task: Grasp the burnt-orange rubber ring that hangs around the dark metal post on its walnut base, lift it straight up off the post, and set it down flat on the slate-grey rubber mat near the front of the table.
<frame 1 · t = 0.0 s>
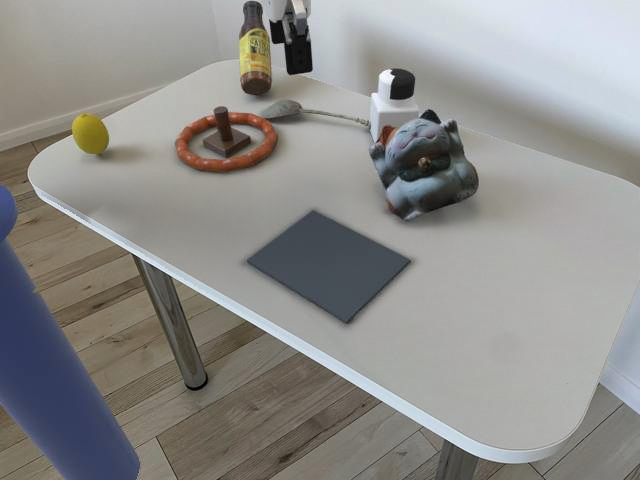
hand: (291, 56, 72), 23 cm above the table, tool pointing down, fingers open, 9 cm apart
post stand: (227, 145, 99), on the table
medicine bottle: (391, 138, 100), on the table, touching soupspoon
lemon: (99, 155, 98), on the table
sauce bottle: (257, 90, 109), point 2 cm above the table
mat: (328, 262, 77), on the table
lucky cat figurine: (420, 198, 87), on the table
ring: (226, 140, 99), point 1 cm above the table
soupspoon: (317, 121, 104), on the table, touching medicine bottle
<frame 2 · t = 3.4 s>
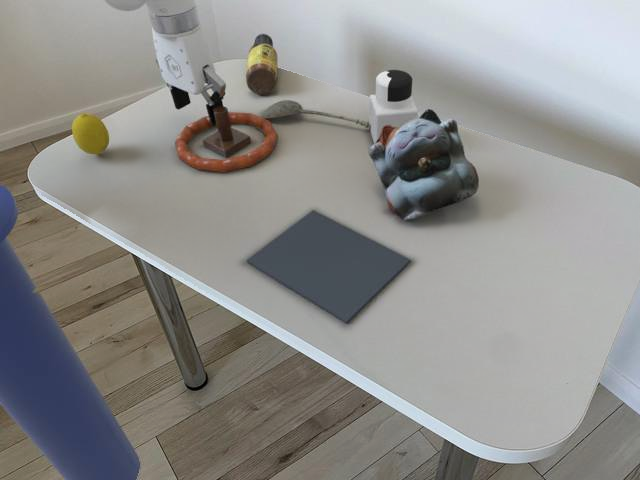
hand: (200, 113, 102), 3 cm above the table, tool pointing down, fingers open, 9 cm apart
sauce bottle: (261, 83, 110), point 3 cm above the table
everything else where it was.
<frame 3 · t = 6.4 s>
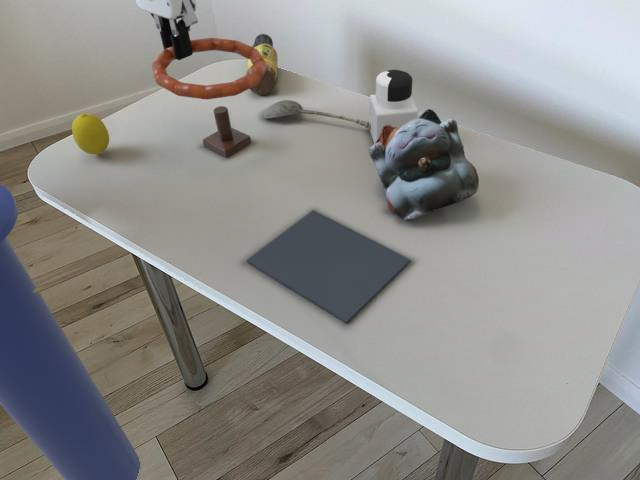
hand: (179, 54, 92), 15 cm above the table, tool pointing down, fingers closed on ring
ring: (210, 66, 89), point 15 cm above the table, touching gripper
everything else where it was.
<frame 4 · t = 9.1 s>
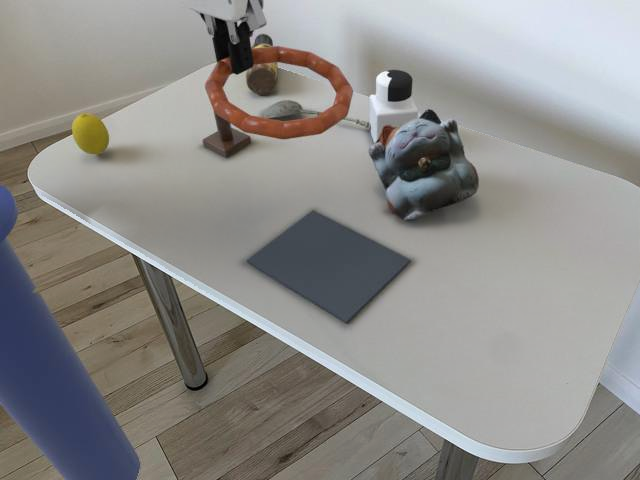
hand: (235, 66, 71), 22 cm above the table, tool pointing down, fingers closed on ring
ring: (280, 89, 68), point 21 cm above the table, tilted 10°, touching gripper
everything else where it was.
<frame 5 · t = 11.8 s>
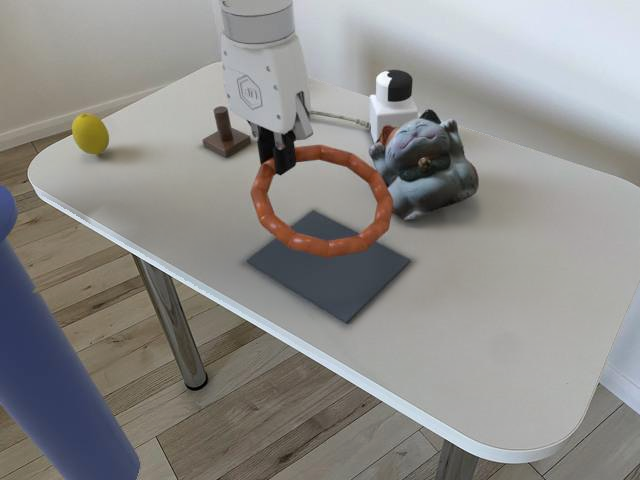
hand: (278, 165, 72), 13 cm above the table, tool pointing down, fingers closed on ring
ring: (323, 197, 69), point 11 cm above the table, tilted 16°, touching gripper
everything else where it was.
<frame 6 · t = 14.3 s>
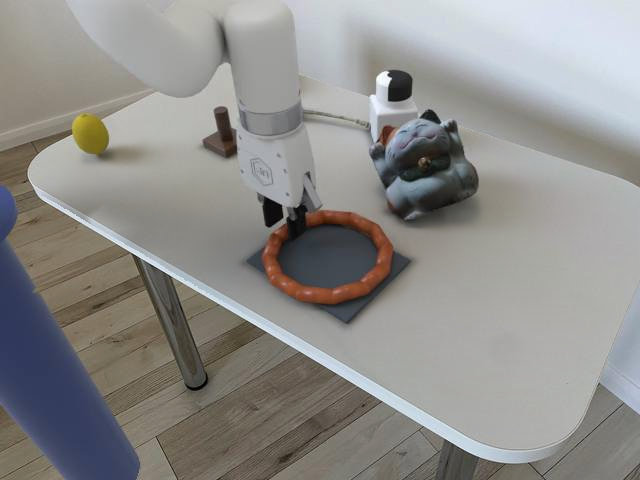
hand: (286, 227, 79), 2 cm above the table, tool pointing down, fingers open, 3 cm apart
ring: (327, 253, 76), point 1 cm above the table, touching mat
everything else where it was.
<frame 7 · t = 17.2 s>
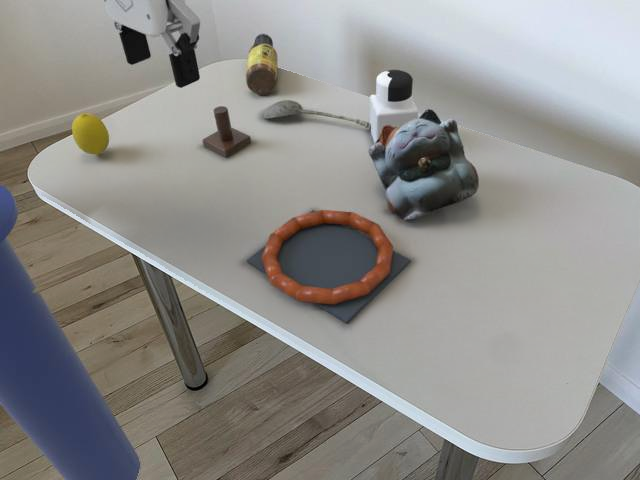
hand: (163, 71, 69), 23 cm above the table, tool pointing down, fingers open, 9 cm apart
nothing on the table moved.
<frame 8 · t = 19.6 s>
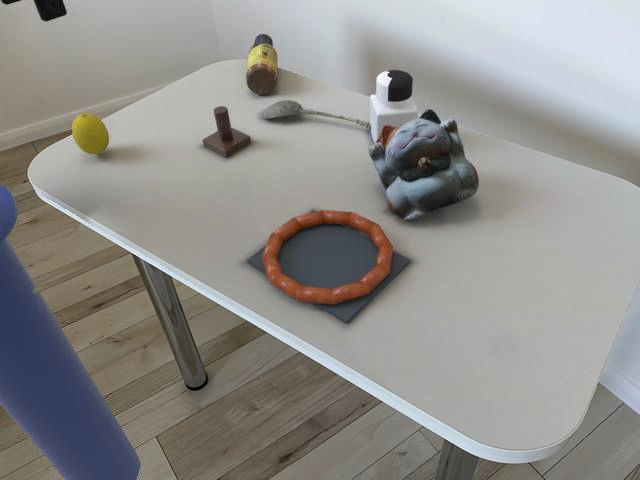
hand: (34, 9, 71), 28 cm above the table, tool pointing down, fingers open, 9 cm apart
nothing on the table moved.
at the end: ring inside the target area on the mat (0.1 cm from its centre), point 1.5 cm above the mat's base; ring moved 35.9 cm from its start; the gripper is holding nothing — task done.
